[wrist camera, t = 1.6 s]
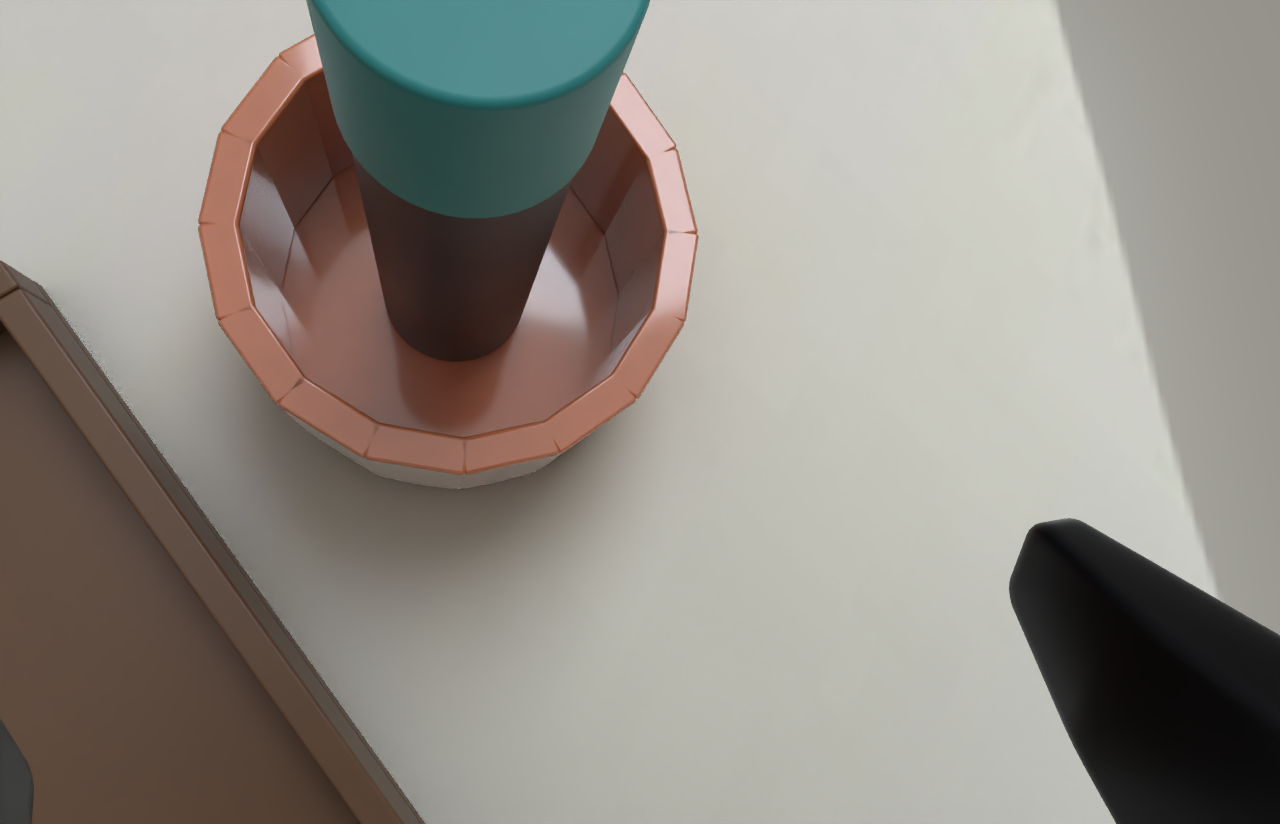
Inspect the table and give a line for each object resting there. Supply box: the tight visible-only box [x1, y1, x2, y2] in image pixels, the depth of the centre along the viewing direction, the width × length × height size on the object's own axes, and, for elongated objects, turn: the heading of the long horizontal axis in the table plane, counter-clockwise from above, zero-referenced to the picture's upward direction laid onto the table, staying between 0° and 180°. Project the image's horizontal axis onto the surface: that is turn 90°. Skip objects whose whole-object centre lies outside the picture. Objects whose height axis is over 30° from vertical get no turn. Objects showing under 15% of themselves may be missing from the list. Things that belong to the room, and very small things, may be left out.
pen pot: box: [198, 34, 698, 490], centre depth 19 cm, size 8×8×5 cm
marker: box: [306, 0, 650, 361], centre depth 14 cm, size 3×3×12 cm
